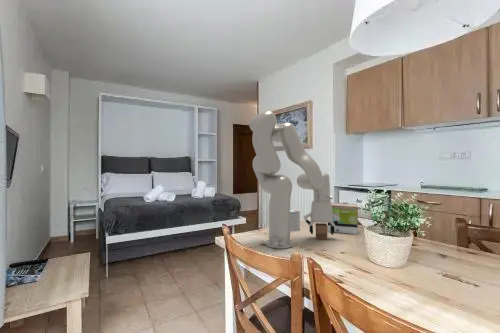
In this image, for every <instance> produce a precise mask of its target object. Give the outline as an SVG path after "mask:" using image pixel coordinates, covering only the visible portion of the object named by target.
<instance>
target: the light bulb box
mask: <svg viewBox="0 0 500 333" xmlns="http://www.w3.org/2000/svg"><path fill="white" fill-rule="evenodd" d="M300 223H301V211H300V210H299V209H295V208H291V207H290V232H294V231H295V232H296V231H300V229H301V227H300V226H301V224H300Z"/></svg>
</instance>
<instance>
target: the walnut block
mask: <svg viewBox="0 0 500 333" xmlns="http://www.w3.org/2000/svg"><path fill="white" fill-rule="evenodd" d="M315 240H316V241H328V223H327V222H315Z"/></svg>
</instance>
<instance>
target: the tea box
mask: <svg viewBox="0 0 500 333" xmlns="http://www.w3.org/2000/svg"><path fill="white" fill-rule="evenodd" d="M331 204H332V212H333V214H335V215H337V216H339V217H340V220H339V221H338V223H337V224H336V225H335V226H334V233H339V234H340V233H341V234H350V235H358V233H359V232H358V228H359V226H358V224H359V223H358V222H359V206H358V205H357V203H348V202H345V203H343V202H331ZM335 220H336V218H335V217H333V221H332V222H334V221H335ZM327 233H331V223H330V222H327Z"/></svg>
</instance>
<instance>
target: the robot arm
mask: <svg viewBox="0 0 500 333" xmlns="http://www.w3.org/2000/svg"><path fill="white" fill-rule="evenodd" d="M277 122H278V121H277V116H276V114H275V113H274V112H273V111H270V110H268V111H262V112H260V113H258V114H256V115H254V116H252V117H251V118H250V120H249V124H248V126H249V129H250V130H251V131H252V138H251V139H252V147H253V149H254V153H255V154H256V155H255V156H254V158H253V159H252V169H253V172H254V174H255V177H256V179H257V181H258V184H259V185H260V188H261V189H262V191H263V192H265V193H267V194H269V195H270V198H269V202H268V239H266V241H265V245H266V246H267V247H269V248H272V249H277V250H278V249H279V250H281V249H288V248H292V247H293V246H294V244H295V243H294V241H293V240H292V239H291V231H290V208H291V197H292V192H293V184H292V181H291V179H290V177H288V176H287V175H284V174H278V172H279V171H280V170H281V166H282V165H281V161H280V157H279V155H278V153H277V151H276V148H275V146H274V142H275V143H280V144H281V146H282V148H283V150H284V152H285V154H286V156H287V158H288V160H289V161H290V162H292V163H294V164H296V165H297V166H299V167H300V168H301V170H302V171H303V172H304V173H300V174H299V175H298V176H297V177H296V183H297V186H298V187H299V188H301V189H304V190H311V191H313V200H312V201H311V206H310V212H309V213H308V214H305V215H304V216H303V219H304V221H305V223H306V224H308V226H309V233H310V234H311V235H313V234H314V223H328V222H330V223H331V232H330V235H331V236H333V235H334V233H335V232H334V226H335V225H336V224H337V223H338V221H339V220H340V217H339V216H337V215H335V214H333V212H332V204H331V203H332V200H333V198H334V197H333V196H331V195H330V175H329V174H328V173H322V170H321V169H320V166H319V164H318V163H317V162H316V160H315V159H314V158H313V157H312V156H311V155H310V154H309V153H308V152H307V151H306V150H305V147H304V146H303V143H302V140H301V138H300V135H299V133H298V130H297V128H296V127H295V125H294V124H293V123H291V122H282V123H279V124H277ZM333 217H335V218H336V220H335V221H334V222H332V221H333ZM308 218H310V219H311V220H310V221H309V219H308Z"/></svg>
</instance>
